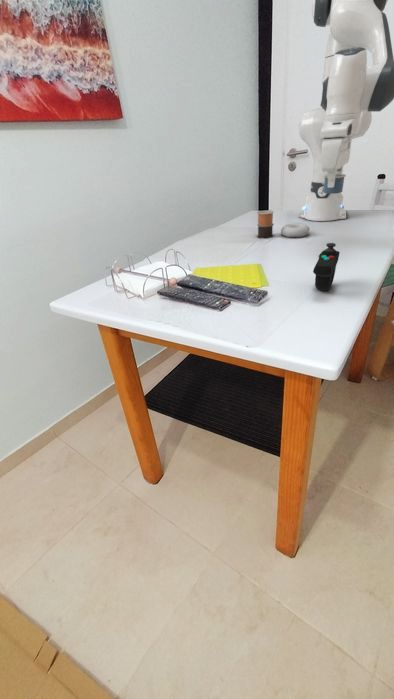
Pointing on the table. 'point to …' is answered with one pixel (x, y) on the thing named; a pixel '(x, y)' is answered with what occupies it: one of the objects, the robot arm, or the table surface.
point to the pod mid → (265, 217)
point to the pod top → (338, 184)
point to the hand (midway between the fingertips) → (333, 185)
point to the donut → (295, 230)
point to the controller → (326, 267)
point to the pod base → (265, 231)
